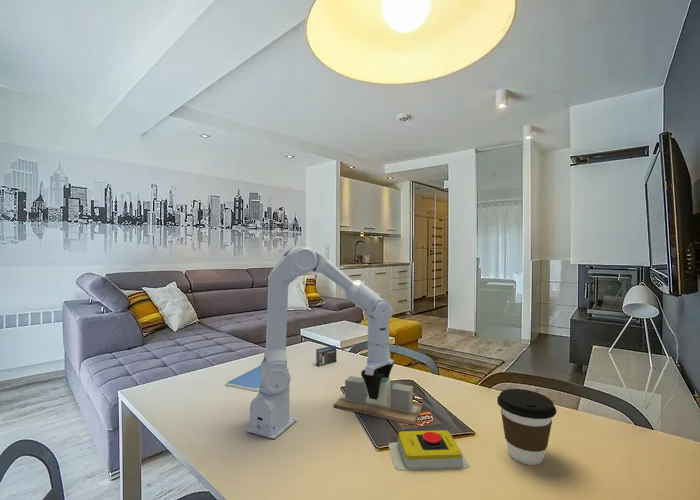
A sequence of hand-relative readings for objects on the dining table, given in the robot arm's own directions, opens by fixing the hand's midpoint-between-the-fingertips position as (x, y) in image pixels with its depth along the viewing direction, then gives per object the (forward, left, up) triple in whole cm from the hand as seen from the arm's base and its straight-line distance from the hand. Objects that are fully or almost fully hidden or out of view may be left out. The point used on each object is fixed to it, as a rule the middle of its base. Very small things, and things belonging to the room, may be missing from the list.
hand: (378, 392), depth 93 cm
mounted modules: (0, 0, -2) cm, 2 cm away
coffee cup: (-8, -35, -4) cm, 36 cm away
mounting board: (0, 0, -4) cm, 4 cm away
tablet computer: (+4, +43, -5) cm, 43 cm away
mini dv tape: (+25, +29, -4) cm, 39 cm away
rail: (0, 0, -4) cm, 4 cm away
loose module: (0, 0, -2) cm, 2 cm away
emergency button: (-16, -16, -5) cm, 23 cm away
